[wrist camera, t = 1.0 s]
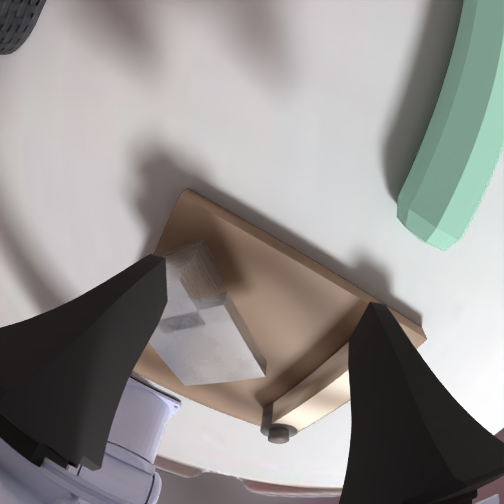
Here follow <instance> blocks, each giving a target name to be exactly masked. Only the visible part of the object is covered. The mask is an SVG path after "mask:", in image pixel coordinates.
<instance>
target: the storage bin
mask: <svg viewBox="0 0 504 504" xmlns="http://www.w3.org/2000/svg"><path fill="white" fill-rule="evenodd" d="M45 1H46V0H0V55H7V54H11V53H13V52H14V51H16V50H17V49H18V48H19V47H20V46H21V45H22V44H23V43H24V42H25V40H26V39H27V38H28V36H29V35H30V33H31V31H32V29H33V27H34V26H35V24H36V21H37V19H38V17H39V14H40V12H41V10H42V7H43V5H44V3H45Z"/></svg>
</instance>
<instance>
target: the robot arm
mask: <svg viewBox="0 0 504 504" xmlns="http://www.w3.org/2000/svg"><path fill="white" fill-rule="evenodd" d="M167 302H168V295H167V276H166V258H164V257H160V256H156V255H152V254H150V255H148V256H146V257H144V258H143V259H141V260H139V261H138V262H136V263H135V264H133V265H131V266H130V267H128V268H127V269H125V270H123V271H122V272H120V273H118V274H117V275H115V276H114V277H112V278H110V279H109V280H107V281H106V282H104V283H102V284H100V285H99V286H97V287H95V288H93V289H92V290H90V291H88V292H86V293H85V294H83V295H81V296H79V297H78V298H76V299H74V300H72V301H70V302H68V303H66V304H64V305H61V306H59V307H57V308H55V309H53V310H50V311H48V312H45V313H43V314H40V315H38V316H35V317H33V318H30V319H28V320H25V321H22V322H18V323H15V324H12V325H8V326H5V327H1V328H0V504H156V502H157V500H158V497H159V494H160V490H161V484H162V483H161V478H160V477H159V474H158V473H157V472H154V471H155V468H156V466H154V465H153V463H154V460H155V457H156V454H157V451H158V448H159V445H160V442H161V439H162V437H163V434H164V431H165V428H166V425H167V422H168V420H169V419H170V418H171V417H172V416H173V415H174V414H175V413H176V412H177V411H178V409H179V408H180V407H181V405H182V404H181V403H180V402H178V401H176V400H174V399H172V398H170V397H167V396H165V395H163V394H161V393H159V392H157V391H155V390H153V389H151V388H149V387H147V386H145V385H143V384H142V383H140V382H138V381H136V380H134V379H132V378H130V375H131V373H132V371H133V369H134V367H135V365H136V363H137V361H138V360H139V358H140V356H141V354H142V352H143V351H144V349H145V347H146V345H147V344H148V342H149V340H150V338H151V336H152V335H153V333H154V331H155V329H156V327H157V326H158V324H159V321H160V319H161V317H162V314H163V312H164V309H165V307H166V304H167ZM348 372H349V385H350V399H351V416H352V427H351V440H350V450H349V457H348V464H347V470H346V475H345V480H344V485H343V490H342V494H341V497H340V501H339V504H472V499H474V498H476V497H477V489H478V488H480V487H483V486H485V485H486V484H489V483H491V482H493V481H494V480H496V479H498V478H500V477H502V476H503V475H504V443H503V442H502V441H500V440H499V439H498V438H496V437H495V436H494V435H492V434H491V433H490V432H488V431H487V430H486V429H485V428H484V427H483V426H482V425H480V424H479V423H478V422H477V421H476V420H475V419H474V418H473V417H472V416H471V415H470V414H469V413H468V412H467V411H466V410H465V409H464V408H463V407H462V406H461V405H460V404H459V403H458V402H457V401H456V400H455V399H454V398H453V397H452V395H451V394H450V393H449V392H448V391H447V389H446V388H445V387H444V386H443V385H442V383H441V382H440V381H439V380H438V378H437V377H436V376H435V375H434V373H433V372H432V371H431V369H430V368H429V366H428V365H427V364H426V362H425V361H424V360H423V358H422V357H421V355H420V354H419V352H418V351H417V350H416V348H415V347H414V345H413V344H412V342H411V341H410V339H409V338H408V336H407V335H406V333H405V332H404V330H403V329H402V327H401V326H400V324H399V323H398V321H397V320H396V319H395V317H394V316H393V314H392V313H391V311H390V310H389V309H388V308H387V306H386V305H385V304H381V303H376V302H369V304H368V306H367V308H366V310H365V312H364V313H363V315H362V317H361V319H360V321H359V323H358V324H357V326H356V328H355V330H354V332H353V333H352V335H351V337H350V339H349V349H348ZM68 464H69V465H70V467H69V470H68V471H67V470H66V467H67V465H68ZM476 504H499V495H498V494H496V495H494V496H492V497H489V498H487V499H485V500H483V501H480V502H478V503H476Z"/></svg>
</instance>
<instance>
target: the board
mask: <svg viewBox="0 0 504 504" xmlns="http://www.w3.org/2000/svg"><path fill="white" fill-rule="evenodd" d="M202 239H204V240H205V242H206V244H207V246H208V248H209V250H210V252H211V254H212V256H213V258H214V260H215V261H216V263H217V265H218V267H219V269H220V271H221V273H222V275H223V277H224V278H223V281H222V284H221V286H220V289H219V292H218V293H222V292H226V291H228V292H229V294H230V296H231V298H232V299H233V301H234V303H235V305H236V307H237V309H238V311H239V312H240V314H241V316H242V318H243V320H244V322H245V323H246V325H247V327H248V329H249V331H250V333H251V334H252V336H253V338H254V340H255V342H256V343H257V345H258V347H259V349H260V351H261V352H262V354H263V356H264V358H265V359H266V361H267V369H266V377H260V378H254V379H246V380H239V381H231V382H222V383H213V384H202V385H189V386H185V385H184V384H183V383H182V382H181V381H180V380H179V378H178V377H177V376H176V375H175V374H174V373H173V371H172V370H171V369H170V368H169V367H168V366H167V364H166V363H165V362H164V361H163V359H162V358H161V357H160V356H159V355H158V353H157V352H156V351H155V349H154V348H153V347H152V346H151V344H150V343H149V342H148V344H147V345H146V347H145V349H144V351H143V352H142V354H141V356H140V358H139V360H138V361H137V363H136V365H135V367H134V369H133V371H134V372H136V373H138V374H139V375H141V376H143V377H145V378H147V379H149V380H151V381H153V382H155V383H157V384H159V385H161V386H163V387H165V388H167V389H169V390H171V391H173V392H175V393H177V394H179V395H182V396H184V397H186V398H188V399H190V400H193V401H195V402H197V403H200V404H202V405H204V406H207V407H209V408H212V409H214V410H217V411H219V412H222V413H224V414H227V415H230V416H232V417H235V418H238V419H241V420H243V421H246V422H249V423H252V424H255V425H258V426H261V422H262V413H263V408H264V407H265V406H266V405H268V404H270V403H274V402H275V401H277V400H278V399H279V398H281V397H282V396H283V395H285V394H286V393H287V392H289V391H290V390H291V389H293V388H294V387H295V386H297V385H298V384H299V383H300V382H302V381H303V380H304V379H305V378H307V377H308V376H309V375H310V374H312V373H313V372H314V371H315V370H317V369H318V368H319V367H320V366H321V365H323V364H324V363H325V362H326V361H327V360H328V359H330V358H331V357H332V356H333V355H334V354H335V353H337V352H338V351H339V350H340V349H341V348H342V347H343V346H344V345H346V344H347V343H348V342H349V339H350V337H351V335H352V333H353V332H354V330H355V328H356V326H357V324H358V323H359V321H360V319H361V317H362V315H363V313H364V312H365V310H366V308H367V306H368V304H369V302H376V303H381V304H384V303H382V302H381V301H379V300H377V299H376V298H374V297H373V296H371V295H369V294H368V293H366V292H365V291H363V290H361V289H360V288H358V287H356V286H355V285H353V284H351V283H350V282H348V281H347V280H345V279H343V278H342V277H340V276H338V275H337V274H335V273H333V272H332V271H330V270H328V269H327V268H325V267H323V266H322V265H320V264H318V263H317V262H315V261H313V260H312V259H310V258H308V257H307V256H305V255H303V254H302V253H300V252H298V251H297V250H295V249H293V248H292V247H290V246H288V245H286V244H285V243H283V242H281V241H280V240H278V239H276V238H275V237H273V236H271V235H269V234H268V233H266V232H264V231H263V230H261V229H259V228H257V227H256V226H254V225H252V224H250V223H249V222H247V221H245V220H243V219H242V218H240V217H238V216H237V215H235V214H233V213H231V212H230V211H228V210H226V209H224V208H222V207H221V206H219V205H217V204H215V203H214V202H212V201H210V200H208V199H207V198H205V197H203V196H201V195H199V194H198V193H196V192H194V191H192V190H190V189H189V188H187V189H186V190H185V191H184V192H183V193H182V194H180V196H179V198H178V200H177V202H176V204H175V207H174V209H173V211H172V213H171V215H170V218H169V220H168V222H167V224H166V227H165V229H164V231H163V234H162V236H161V238H160V241H159V243H158V245H157V248H156V250H155V253H154V255H156V256H160V257H162V256H163V255H164V254H165V253H166V252H168V251H171V250H173V249H176V248H179V247H182V246H185V245H187V244H190V243H193V242H196V241H199V240H202ZM386 306H387V305H386ZM387 308H388V309H389V310H390V311H391V313H392V314H393V316H394V317H395V319H396V320H397V321H398V323H399V324H400V326H401V327H402V329H403V330H404V332H405V333H406V335H407V336H408V338H409V339H410V341H411V342H412V344H413V345H414V347H415V348H416V349H417V348H418V347H419V346H420V345H421V344H422V343H424V342H425V341H426V340H427V338H426V335H425V333H424V331H423V329H422V327H420V326H419V325H417V324H416V323H414V322H412V321H411V320H409V319H408V318H406V317H405V316H403V315H401V314H400V313H398V312H397V311H395V310H393V309H392V308H390V307H389V306H387ZM350 400H351V399H350ZM350 400H348V401H350ZM348 401H347V402H348ZM347 402H345V403H347ZM345 403H344V404H345ZM344 404H342V405H344ZM342 405H341V406H342ZM341 406H339V407H341ZM339 407H338V408H339ZM336 409H337V408H336ZM336 409H335V410H336ZM333 411H334V410H333ZM333 411H332V412H333ZM330 413H331V412H330ZM330 413H328V414H330ZM328 414H327V415H328ZM325 416H326V415H325ZM325 416H324V417H325ZM322 418H323V417H322ZM320 419H321V418H320ZM320 419H319V420H320ZM317 421H318V420H317ZM315 422H316V421H315ZM315 422H314V423H315ZM312 424H313V423H312ZM310 425H311V424H310ZM310 425H309V426H310ZM307 427H308V426H307ZM305 428H306V427H305ZM303 429H304V428H303ZM303 429H301V430H303ZM301 430H300V431H301ZM298 432H299V431H298Z"/></svg>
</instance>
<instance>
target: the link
mask: <svg viewBox="0 0 504 504" xmlns="http://www.w3.org/2000/svg"><path fill="white" fill-rule="evenodd" d="M348 349H349V342H348V343H347V344H346V345H344V346H343V347H342V348H341V349H340V350H339V351H338V352H337V353H335V354H334V355H333V356H332V357H331V358H330V359H328V360H327V361H326V362H325V363H324V364H323V365H321V366H320V367H319V368H318V369H317V370H315V371H314V372H313V373H312V374H310V375H309V376H308V377H307V378H305V379H304V380H303V381H302V382H300V383H299V384H298V385H297V386H295V387H294V388H293V389H291V390H290V391H289V392H287V393H286V394H285V395H283V396H282V397H281V398H279V399H278V400H277V401H275V402H274V403H270V404H268V405H266V406H265V407H264V408H263V413H262V422H261V430H260V431H261V433H262V434H264V435H265V436H268V441H269V442H272V443H276V444H282V443H286V442H288V441H289V437H292V436H294V435H296V434H297V432H298V431H300V430H301V429H303V428H305V427H307V426H309V425H310V424H312V423H314V422H315V421H317V420H319V419H320V418H322V417H324V416H325V415H327V414H328V413H330V412H332V411H333V410H335V409H336V408H338V407H339V406H341V405H342V404H344V403H345V402H347V401H348V400H350V385H349V372H348Z"/></svg>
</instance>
